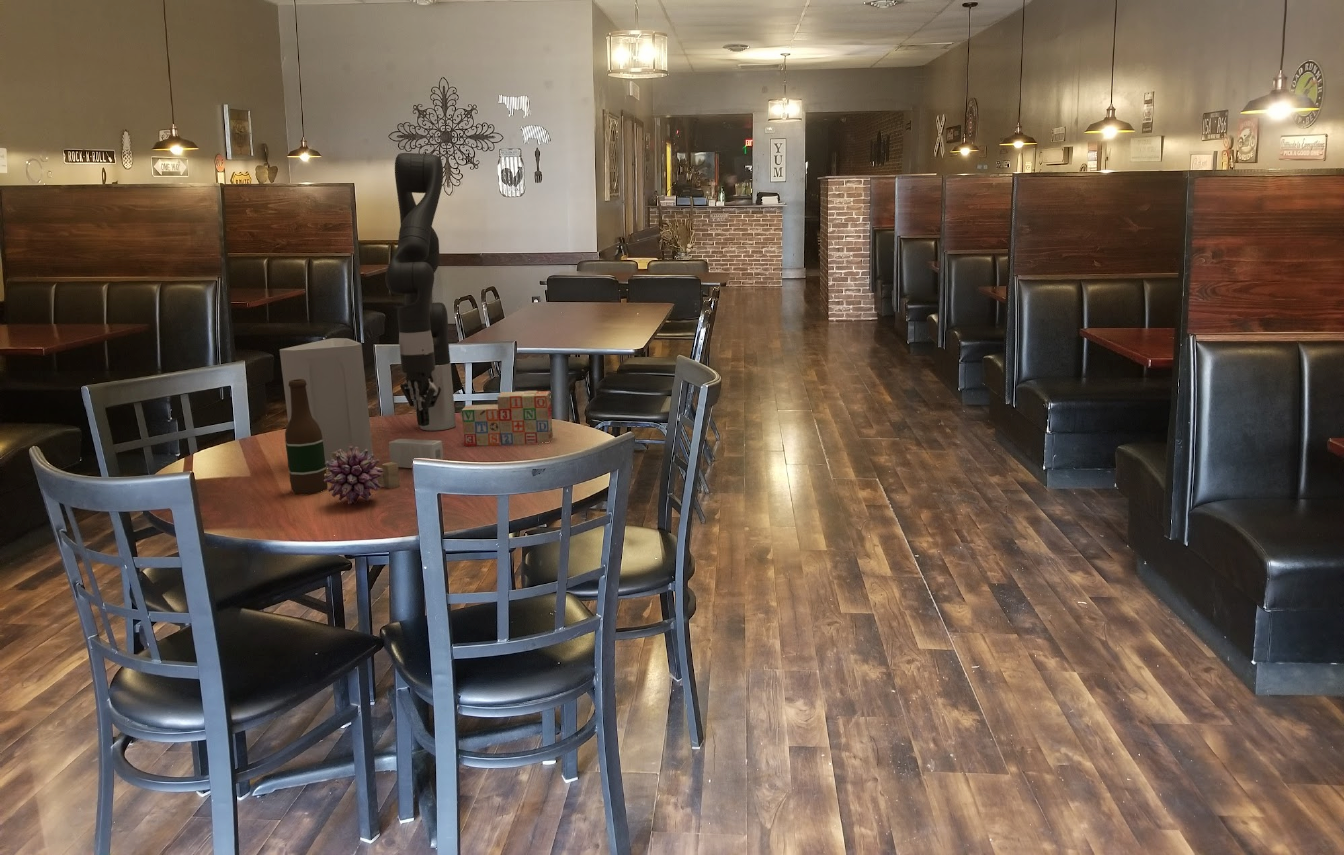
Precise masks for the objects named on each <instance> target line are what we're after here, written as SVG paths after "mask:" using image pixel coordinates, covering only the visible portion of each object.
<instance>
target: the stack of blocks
mask: <svg viewBox="0 0 1344 855" xmlns="http://www.w3.org/2000/svg"><path fill="white" fill-rule="evenodd" d="M461 418H462V420H461V422H462V431H463V432H462V433H463V442H464V446H465V447H468V446H471V447H472V446H473V447H474V446H480V447H481V446H506V445H508V446H509V445H510V446H511V445H527V444H526V443H542V442H543V443H545V442H549V441H550V440H551V438H552V437H554V434H553V420H552V419H553V418H552V403H551V391H550V390H547V391H543V390H542V391H540V390H539V391H538V390H526V391H502V392H500V393H499V395H497V404H495V403H494V404H467V405H465V406H464V407H463V408H462V409H461ZM552 439H553V438H552ZM551 441H552V440H551Z"/></svg>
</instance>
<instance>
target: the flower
mask: <svg viewBox="0 0 1344 855" xmlns="http://www.w3.org/2000/svg"><path fill="white" fill-rule="evenodd" d="M337 452H338V454H336V457H337V460H334V459H332V460H331V461H332V462H328V461H326V463H325V465H327V466H328V467H329V468H328V469H327V471H329V472H326V473H327V474H324V476H325V478H327V479H325V480H324V482H327V483H330V484H332V485H331V486H330V488H327V491H328V492H331V491H332V492H331V494H330V495H331V496H332V497H333V498H335V497H336V496H338V495H339V498H338V501H342V500H343V499H344V498H346V499H347V503H348V505H352V503H353V504H358V499H359V497H360V498H362V499H365V501H366V502H368V501H370V497H371V496H372V493H371V490H374V491H377V490H378V489H382V485H380V484H379V483H378V481H376V480H375V479H376V478H377V477H379V476H382V472H383V469H377V468H374V467H377V465H378V463H380V462H381V461H380V458H377V459H374V457H375V455H374V453H373V454H371V455H369V456H367V453H368V450H367V449H365V451H364V452H363V453H361V454H360V453H359V448H358V447H355V450H353V447H350V449H349V452H348V454H346V453H344V452H343V451H342V450H341V449H339V450H338V451H337ZM372 459H373V460H372Z"/></svg>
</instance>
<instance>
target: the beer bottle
mask: <svg viewBox="0 0 1344 855" xmlns="http://www.w3.org/2000/svg"><path fill="white" fill-rule="evenodd" d="M306 385H307V383H306V381H305V380H304V379H295V380H291V381H289V385H288V386H290V393H291V419H290V421H289V423H287V425H286V428H285V432H284V439H285V440H284V442H285V448H286V458H287V466H288V474H289V484H290V488H291V491H292V493H293V494H294V495H300V494H308V495H314V494H318V493H317V492H320V493H322V492H324V491H327V490H328V489H329V487H328V486H329V485H328V482H324V480H325V479H327V478H325V476H324V474H327V473H328V472H327V469H326V465H325V455H324V446H323V438H322V433H321V430H320V428H319V426H318V424H317V423H316V421H315V420H314V419H313V418H312V416H311V412H310V408H309V403H308V397H307V391H306ZM323 490H324V491H323ZM321 491H322V492H321ZM313 493H314V494H313Z"/></svg>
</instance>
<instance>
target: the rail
mask: <svg viewBox="0 0 1344 855" xmlns="http://www.w3.org/2000/svg"><path fill="white" fill-rule="evenodd" d="M343 452H344V453H346V454H347V452H346V451H343ZM336 454H338V452H333V453H332V457H333V459H334V460H337V457H336ZM374 468H377V469H383V472H382V476H379V477H377V478H376V479H375V480H376V481H378V483H379V484H380V485H382V487H383V488H387V489H394V488H397V487H400V486H401V484H400V474H399V467H398V463H394V462H391V461H390V462H385V463H382V464H381V467H378V466H375V467H374ZM382 487H381V488H382Z"/></svg>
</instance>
